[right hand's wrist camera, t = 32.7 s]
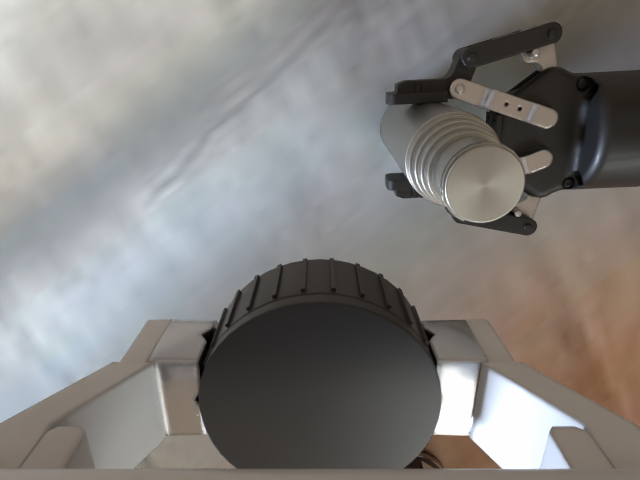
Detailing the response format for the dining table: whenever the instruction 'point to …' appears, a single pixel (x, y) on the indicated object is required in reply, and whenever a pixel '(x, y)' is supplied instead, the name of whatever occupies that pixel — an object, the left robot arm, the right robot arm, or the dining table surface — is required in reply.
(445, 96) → the left robot arm
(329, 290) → the cap
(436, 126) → the bottle
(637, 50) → the dining table surface
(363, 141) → the dining table surface
